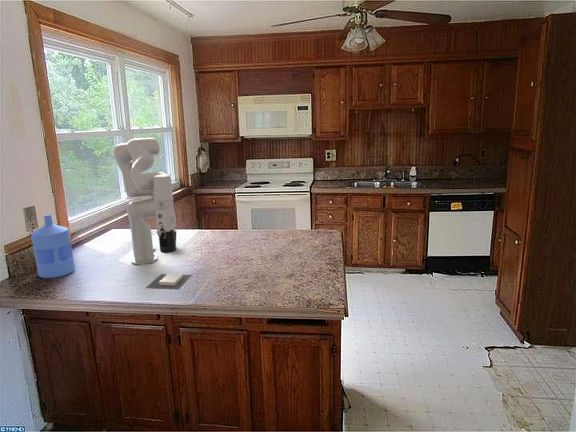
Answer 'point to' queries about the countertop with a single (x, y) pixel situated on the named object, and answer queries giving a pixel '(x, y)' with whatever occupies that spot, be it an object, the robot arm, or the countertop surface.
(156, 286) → the mat
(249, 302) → the countertop surface
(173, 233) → the supplement bottle
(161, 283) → the block
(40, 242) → the water jug
